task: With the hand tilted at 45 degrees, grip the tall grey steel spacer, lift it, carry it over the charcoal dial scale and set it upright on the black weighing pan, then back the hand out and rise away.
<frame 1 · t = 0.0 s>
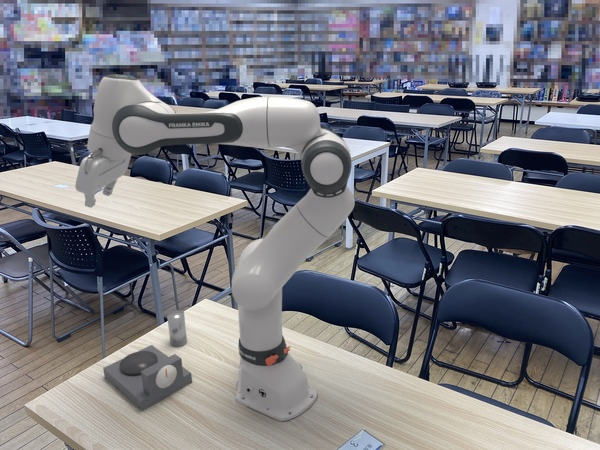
hand: (98, 200, 113), 52 cm above the table, tool tilted 20°, fingers open, 8 cm apart
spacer: (178, 342, 148), on the table
scale: (140, 373, 134), on the table
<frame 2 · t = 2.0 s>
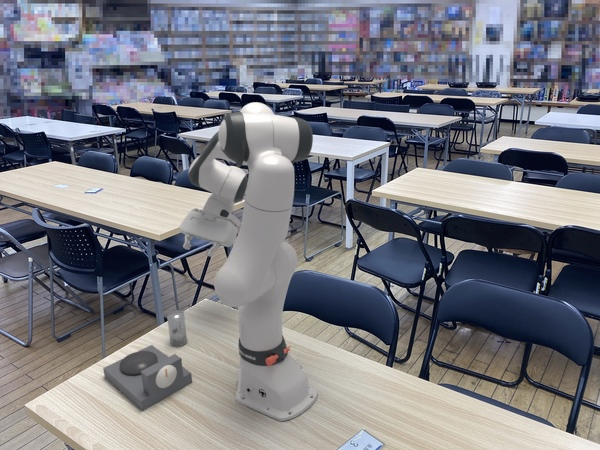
hand: (196, 252, 149), 26 cm above the table, tool tilted 45°, fingers open, 8 cm apart
nothing on the table moved.
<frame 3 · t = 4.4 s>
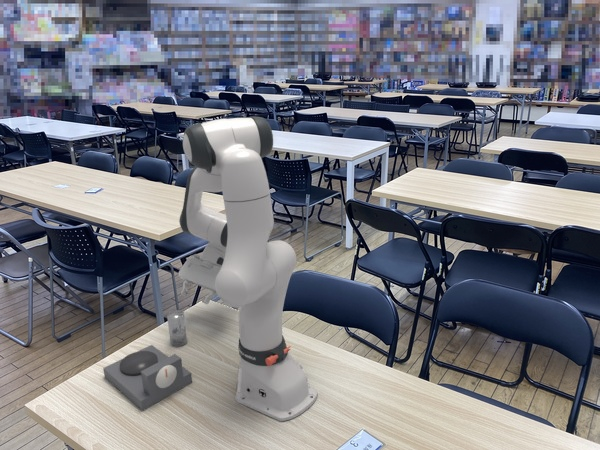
hand: (193, 299, 150), 12 cm above the table, tool tilted 45°, fingers open, 8 cm apart
nothing on the table moved.
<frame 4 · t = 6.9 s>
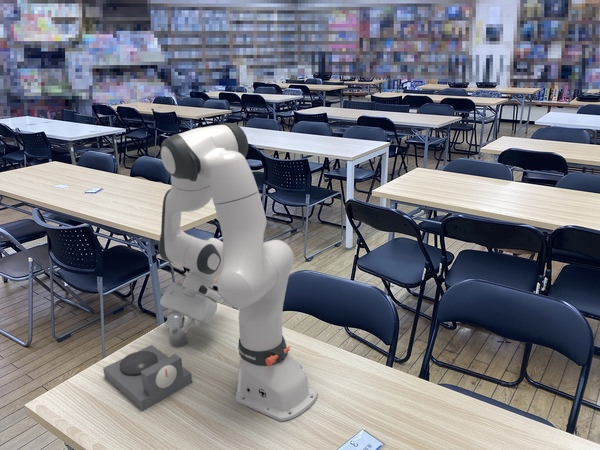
hand: (175, 328, 146), 5 cm above the table, tool tilted 45°, fingers closed on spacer, 5 cm apart
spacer: (178, 342, 148), on the table, touching gripper
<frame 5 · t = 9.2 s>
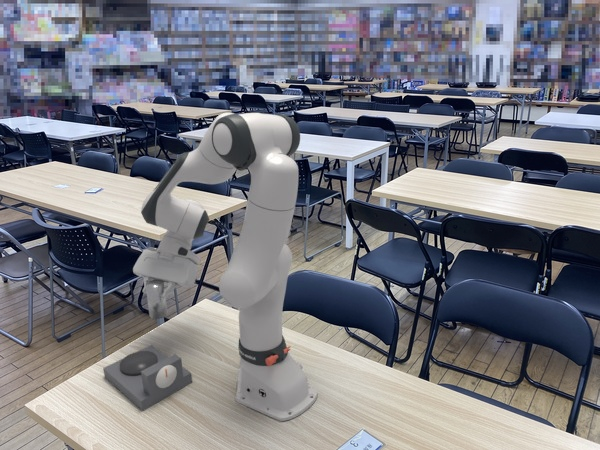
hand: (154, 295, 136), 19 cm above the table, tool tilted 45°, fingers closed on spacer, 5 cm apart
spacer: (158, 314, 139), point 13 cm above the table, touching gripper
when the fingers open (11 cm above the table, at t = 11.9 s): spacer stays where it is, resting on scale.
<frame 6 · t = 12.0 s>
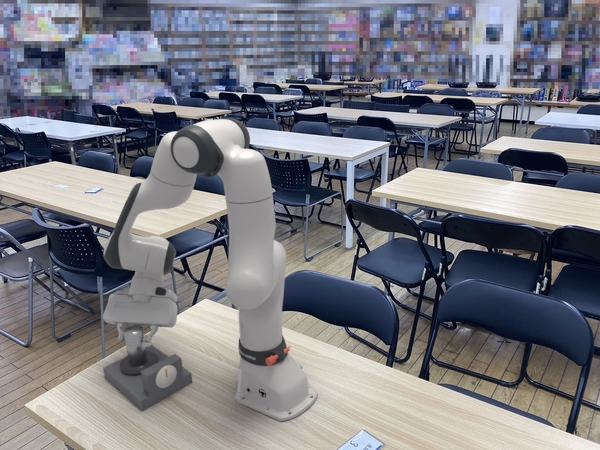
hand: (134, 341, 130), 11 cm above the table, tool tilted 45°, fingers open, 6 cm apart
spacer: (138, 361, 133), point 4 cm above the table, touching scale
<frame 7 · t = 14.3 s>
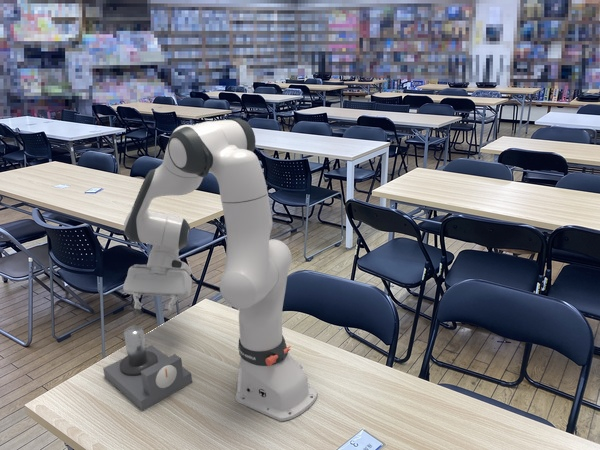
hand: (152, 309, 141), 13 cm above the table, tool tilted 45°, fingers open, 8 cm apart
nothing on the table moved.
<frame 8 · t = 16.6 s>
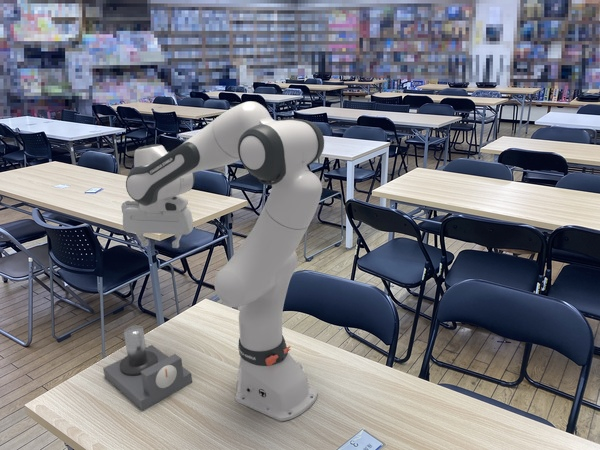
hand: (160, 246, 140), 31 cm above the table, tool pointing down, fingers open, 8 cm apart
nothing on the table moved.
at the end: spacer inside the target area on the scale (0.2 cm from its centre), point 4.0 cm above the scale's base; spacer tilted 0°; the gripper is holding nothing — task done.
